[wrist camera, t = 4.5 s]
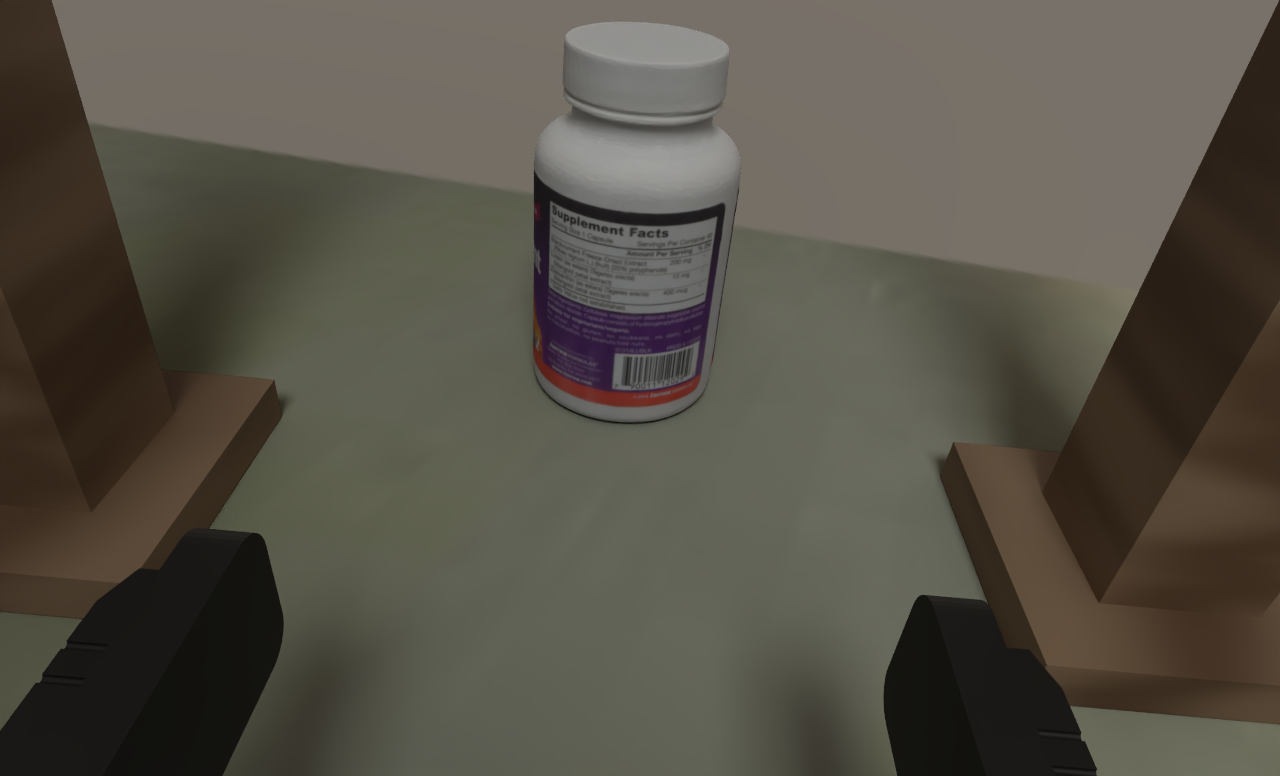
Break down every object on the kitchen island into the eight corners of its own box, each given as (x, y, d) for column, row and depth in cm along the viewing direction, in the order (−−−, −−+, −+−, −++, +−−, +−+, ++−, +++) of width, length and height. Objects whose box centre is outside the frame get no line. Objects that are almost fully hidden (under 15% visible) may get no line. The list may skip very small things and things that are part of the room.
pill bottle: (578, 313, 28) (592, 3, 23) (729, 355, 27) (784, 37, 21) (498, 395, 24) (492, 41, 19) (673, 451, 23) (723, 86, 17)
